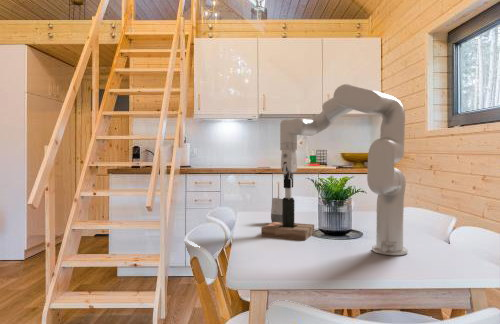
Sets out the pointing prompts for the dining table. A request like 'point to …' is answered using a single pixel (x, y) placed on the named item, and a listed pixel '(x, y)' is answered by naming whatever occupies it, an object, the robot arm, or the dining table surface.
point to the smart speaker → (276, 210)
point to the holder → (287, 231)
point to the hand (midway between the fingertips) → (288, 187)
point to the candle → (288, 208)
